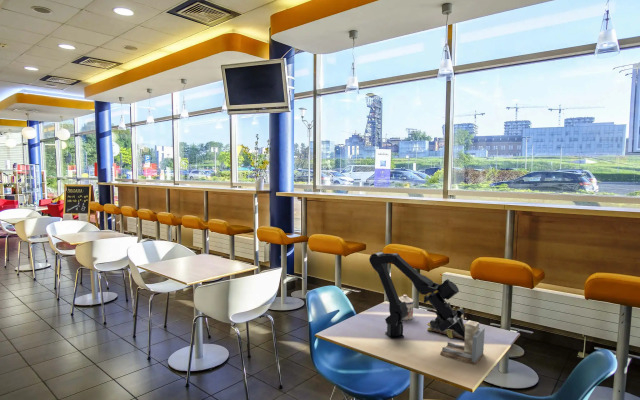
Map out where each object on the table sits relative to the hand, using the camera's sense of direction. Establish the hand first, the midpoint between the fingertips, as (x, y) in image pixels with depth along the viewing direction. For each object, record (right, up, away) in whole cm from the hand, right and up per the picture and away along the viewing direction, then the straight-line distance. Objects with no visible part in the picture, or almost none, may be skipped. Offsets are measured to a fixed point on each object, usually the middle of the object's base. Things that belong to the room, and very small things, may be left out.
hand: (465, 337), depth 163 cm
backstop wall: (+4, -7, -2) cm, 8 cm away
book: (+1, -7, +26) cm, 26 cm away
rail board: (-1, -7, +1) cm, 8 cm away
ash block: (+2, -7, -1) cm, 7 cm away
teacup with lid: (-16, -4, +44) cm, 47 cm away
